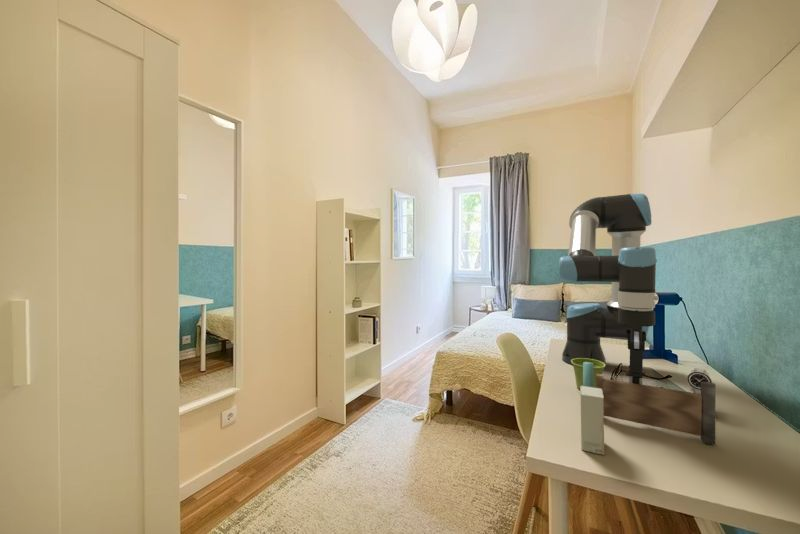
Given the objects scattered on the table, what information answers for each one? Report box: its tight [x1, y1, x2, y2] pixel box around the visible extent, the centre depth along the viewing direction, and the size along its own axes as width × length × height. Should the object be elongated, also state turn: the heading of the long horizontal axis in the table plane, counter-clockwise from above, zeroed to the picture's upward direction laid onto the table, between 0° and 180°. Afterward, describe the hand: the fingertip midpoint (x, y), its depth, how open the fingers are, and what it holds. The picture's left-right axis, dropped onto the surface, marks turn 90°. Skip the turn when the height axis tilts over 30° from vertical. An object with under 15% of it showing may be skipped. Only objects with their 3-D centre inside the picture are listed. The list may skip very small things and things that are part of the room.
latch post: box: [583, 362, 593, 387], centre depth 87 cm, size 2×2×13 cm
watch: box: [686, 367, 715, 395], centre depth 87 cm, size 6×8×11 cm
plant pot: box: [571, 358, 606, 390], centre depth 102 cm, size 9×9×9 cm
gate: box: [596, 373, 717, 446], centre depth 77 cm, size 22×2×13 cm, turn 57°
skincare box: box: [579, 386, 605, 456], centre depth 71 cm, size 6×4×12 cm
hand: (635, 401), depth 81 cm, fingers closed
